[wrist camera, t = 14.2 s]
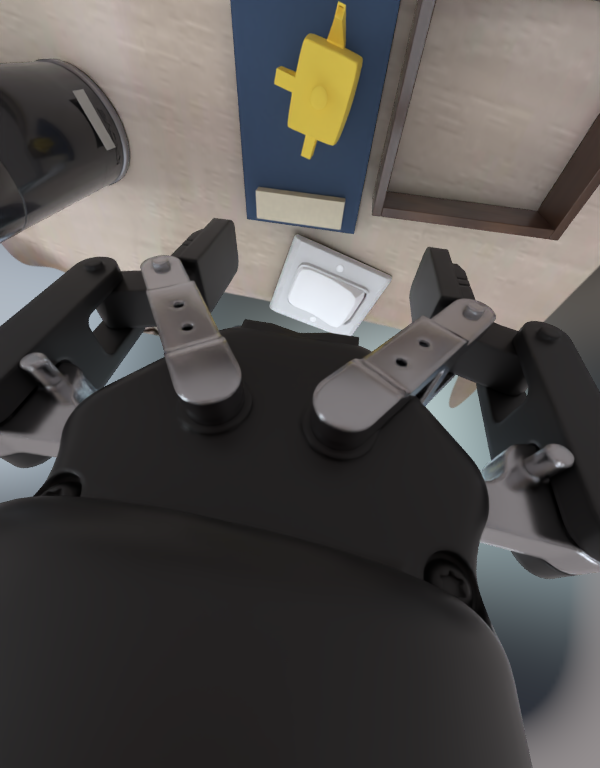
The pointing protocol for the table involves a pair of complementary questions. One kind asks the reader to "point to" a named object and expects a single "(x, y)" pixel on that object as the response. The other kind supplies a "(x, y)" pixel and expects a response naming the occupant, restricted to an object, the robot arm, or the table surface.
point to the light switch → (326, 287)
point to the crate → (569, 194)
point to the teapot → (322, 85)
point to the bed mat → (272, 103)
